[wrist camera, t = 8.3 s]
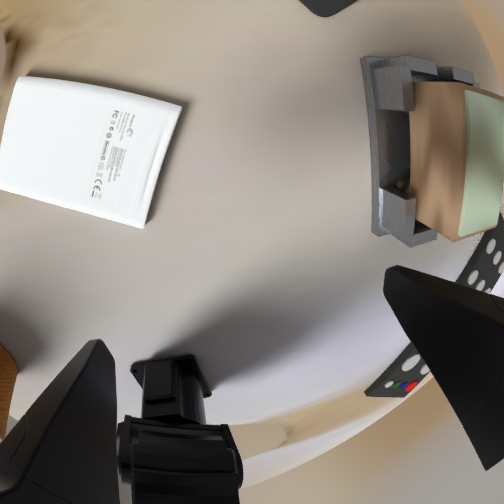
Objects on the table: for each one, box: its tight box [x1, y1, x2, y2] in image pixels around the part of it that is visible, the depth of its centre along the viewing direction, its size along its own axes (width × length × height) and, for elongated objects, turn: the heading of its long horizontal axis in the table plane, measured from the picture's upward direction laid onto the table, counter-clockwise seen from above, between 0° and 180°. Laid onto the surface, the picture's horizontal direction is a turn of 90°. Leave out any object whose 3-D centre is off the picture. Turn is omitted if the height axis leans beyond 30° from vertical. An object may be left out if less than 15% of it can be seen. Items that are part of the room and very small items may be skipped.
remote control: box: [364, 213, 504, 397], centre depth 31 cm, size 11×30×2 cm, turn 150°
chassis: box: [360, 56, 479, 247], centre depth 18 cm, size 14×10×4 cm
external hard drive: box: [0, 76, 182, 229], centre depth 15 cm, size 2×8×12 cm
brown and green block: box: [409, 82, 504, 242], centre depth 15 cm, size 10×6×5 cm, turn 8°
